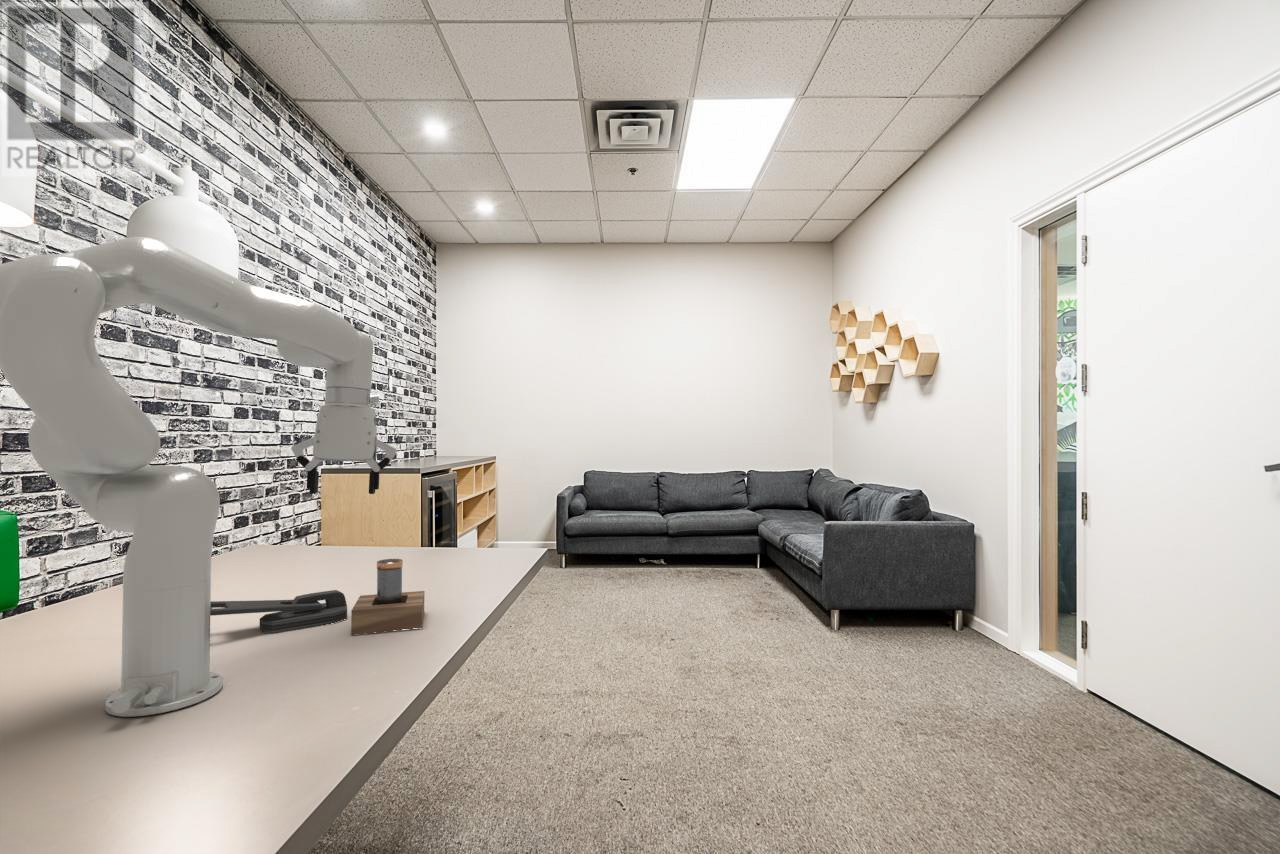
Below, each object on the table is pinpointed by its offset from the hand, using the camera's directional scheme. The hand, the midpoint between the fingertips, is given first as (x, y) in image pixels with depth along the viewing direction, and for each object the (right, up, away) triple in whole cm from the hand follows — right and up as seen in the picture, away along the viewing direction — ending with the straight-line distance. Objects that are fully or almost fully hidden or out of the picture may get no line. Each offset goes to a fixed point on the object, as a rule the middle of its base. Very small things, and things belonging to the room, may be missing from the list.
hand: (343, 493), depth 109 cm
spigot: (+6, -26, +6) cm, 27 cm away
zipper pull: (-15, -26, +4) cm, 30 cm away
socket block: (+6, -26, +6) cm, 27 cm away
